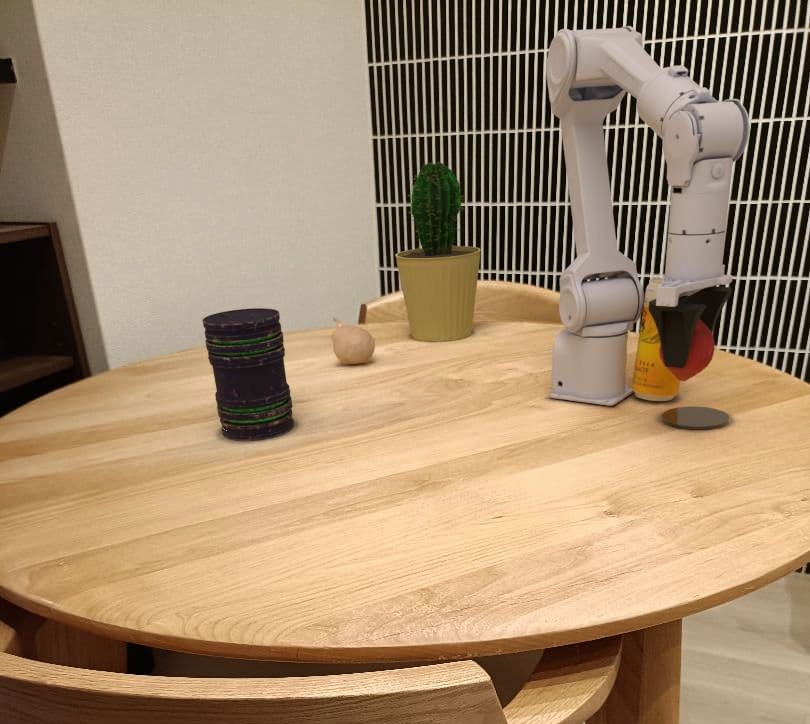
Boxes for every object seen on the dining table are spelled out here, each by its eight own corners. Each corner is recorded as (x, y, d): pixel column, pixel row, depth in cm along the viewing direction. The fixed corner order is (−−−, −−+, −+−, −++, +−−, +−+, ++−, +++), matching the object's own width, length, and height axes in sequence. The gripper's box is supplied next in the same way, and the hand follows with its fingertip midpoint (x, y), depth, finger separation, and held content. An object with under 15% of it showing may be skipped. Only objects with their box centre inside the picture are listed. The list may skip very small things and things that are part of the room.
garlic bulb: (353, 357, 142) (348, 310, 138) (382, 360, 139) (378, 312, 135) (328, 366, 137) (323, 318, 134) (358, 370, 134) (353, 321, 130)
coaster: (651, 424, 101) (651, 421, 101) (675, 406, 107) (675, 403, 107) (716, 433, 97) (716, 430, 96) (738, 414, 102) (738, 411, 102)
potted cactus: (394, 345, 148) (380, 163, 135) (407, 326, 162) (397, 159, 148) (479, 343, 145) (474, 157, 132) (485, 324, 159) (482, 153, 146)
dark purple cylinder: (308, 420, 112) (295, 308, 105) (269, 444, 104) (251, 325, 98) (248, 414, 116) (231, 307, 109) (206, 437, 108) (185, 323, 102)
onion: (711, 374, 95) (719, 304, 91) (710, 389, 90) (718, 315, 86) (659, 373, 96) (664, 303, 93) (655, 387, 92) (660, 314, 88)
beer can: (624, 390, 113) (640, 276, 106) (667, 390, 113) (686, 277, 107) (639, 401, 107) (657, 283, 101) (684, 402, 108) (705, 284, 101)
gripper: (710, 242, 79) (697, 380, 85) (757, 223, 89) (742, 348, 95) (640, 240, 83) (632, 372, 89) (693, 222, 93) (682, 342, 99)
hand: (685, 359), depth 92 cm, fingers closed on onion, 6 cm apart
